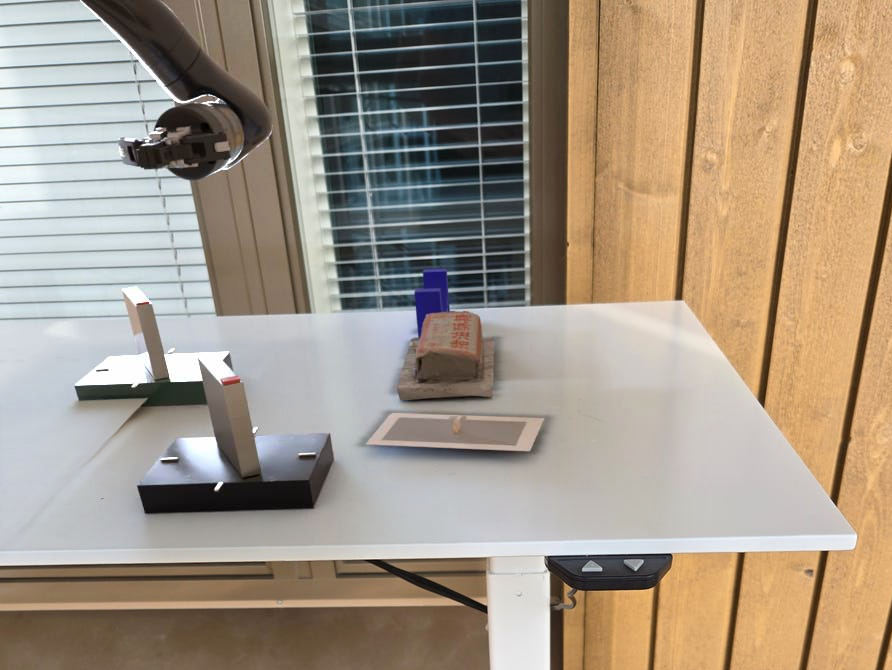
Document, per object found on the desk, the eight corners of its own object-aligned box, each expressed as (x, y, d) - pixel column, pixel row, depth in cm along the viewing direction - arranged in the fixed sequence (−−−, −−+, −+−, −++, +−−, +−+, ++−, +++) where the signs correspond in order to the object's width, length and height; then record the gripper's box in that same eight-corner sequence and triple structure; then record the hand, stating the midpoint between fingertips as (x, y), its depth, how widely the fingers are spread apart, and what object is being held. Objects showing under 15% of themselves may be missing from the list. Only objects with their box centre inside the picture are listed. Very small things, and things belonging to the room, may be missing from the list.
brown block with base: (407, 309, 103) (493, 305, 103) (411, 351, 106) (494, 348, 105) (392, 356, 88) (492, 352, 88) (397, 403, 91) (493, 399, 91)
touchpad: (530, 463, 77) (529, 439, 76) (366, 455, 80) (364, 432, 79) (544, 429, 83) (544, 407, 82) (392, 423, 86) (390, 402, 85)
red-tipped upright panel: (216, 442, 78) (196, 353, 73) (234, 438, 78) (215, 350, 74) (242, 478, 71) (221, 383, 67) (261, 473, 71) (242, 379, 67)
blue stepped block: (455, 342, 108) (452, 290, 105) (418, 343, 108) (414, 292, 105) (461, 315, 118) (458, 268, 115) (427, 317, 118) (423, 269, 115)
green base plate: (75, 413, 93) (67, 389, 92) (120, 373, 104) (114, 350, 102) (205, 409, 92) (199, 384, 91) (237, 369, 103) (232, 346, 102)
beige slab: (139, 358, 100) (121, 286, 95) (154, 356, 100) (136, 284, 96) (154, 379, 93) (135, 303, 89) (170, 376, 94) (151, 301, 89)
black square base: (137, 522, 71) (128, 492, 69) (187, 457, 82) (180, 429, 80) (310, 517, 70) (304, 486, 69) (337, 452, 81) (332, 424, 80)
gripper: (134, 106, 104) (74, 119, 90) (245, 100, 103) (202, 112, 89) (150, 178, 108) (95, 201, 94) (257, 173, 107) (218, 195, 93)
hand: (147, 157), depth 91 cm, fingers closed
